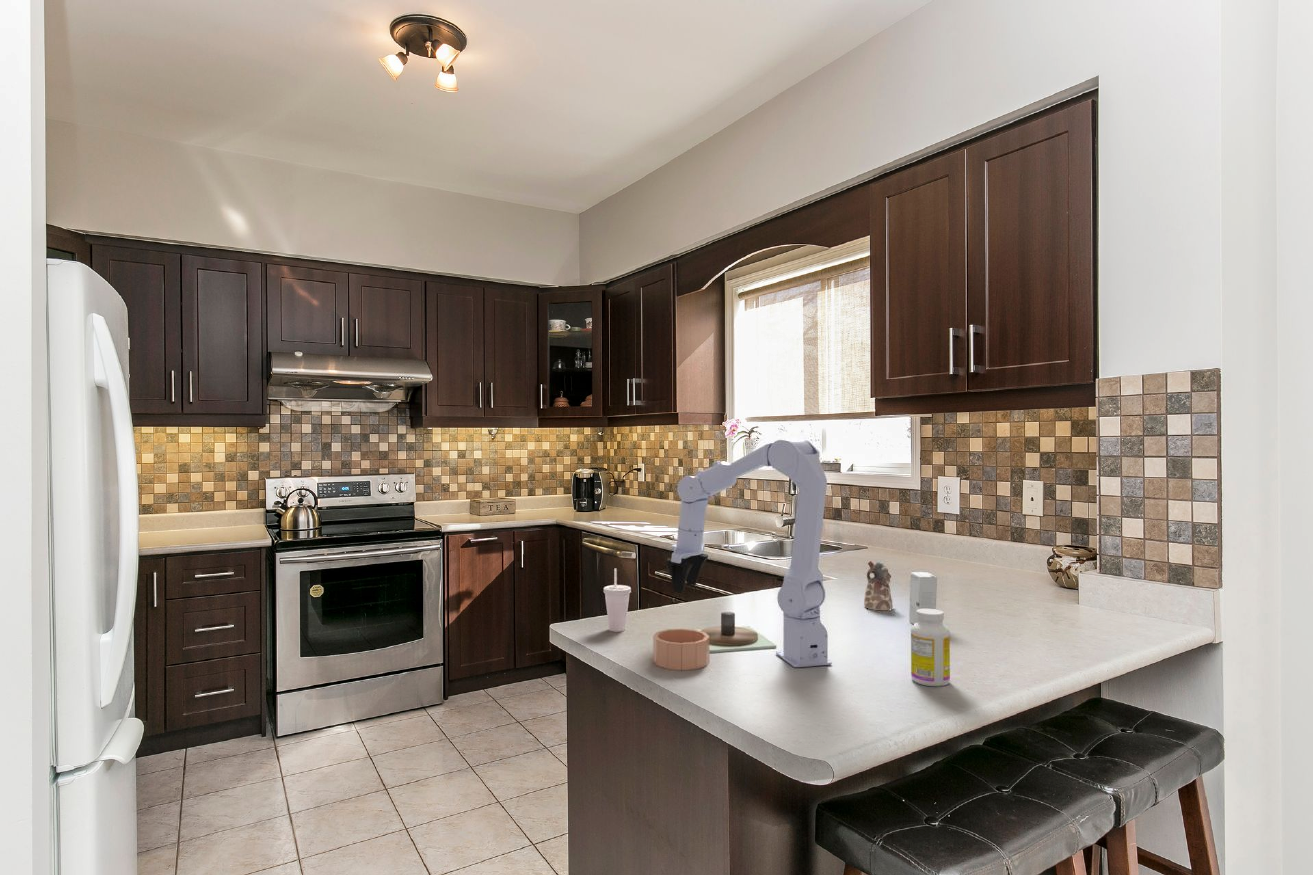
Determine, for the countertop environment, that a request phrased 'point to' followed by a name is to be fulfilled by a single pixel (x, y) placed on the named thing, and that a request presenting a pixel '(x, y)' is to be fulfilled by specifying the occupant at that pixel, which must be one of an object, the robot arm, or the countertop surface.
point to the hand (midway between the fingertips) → (684, 588)
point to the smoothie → (617, 604)
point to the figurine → (878, 588)
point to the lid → (730, 633)
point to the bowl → (681, 649)
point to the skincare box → (922, 593)
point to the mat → (759, 644)
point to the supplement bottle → (930, 649)
